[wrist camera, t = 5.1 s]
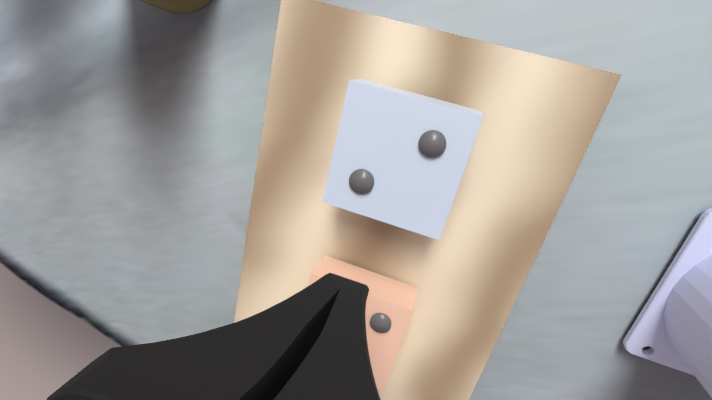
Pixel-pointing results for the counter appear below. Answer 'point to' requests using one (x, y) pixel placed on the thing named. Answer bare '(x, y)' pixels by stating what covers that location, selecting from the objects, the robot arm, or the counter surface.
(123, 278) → the counter surface
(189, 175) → the counter surface
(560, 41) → the counter surface
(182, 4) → the cork
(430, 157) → the tile two
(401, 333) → the tile three
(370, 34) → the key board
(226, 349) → the robot arm
